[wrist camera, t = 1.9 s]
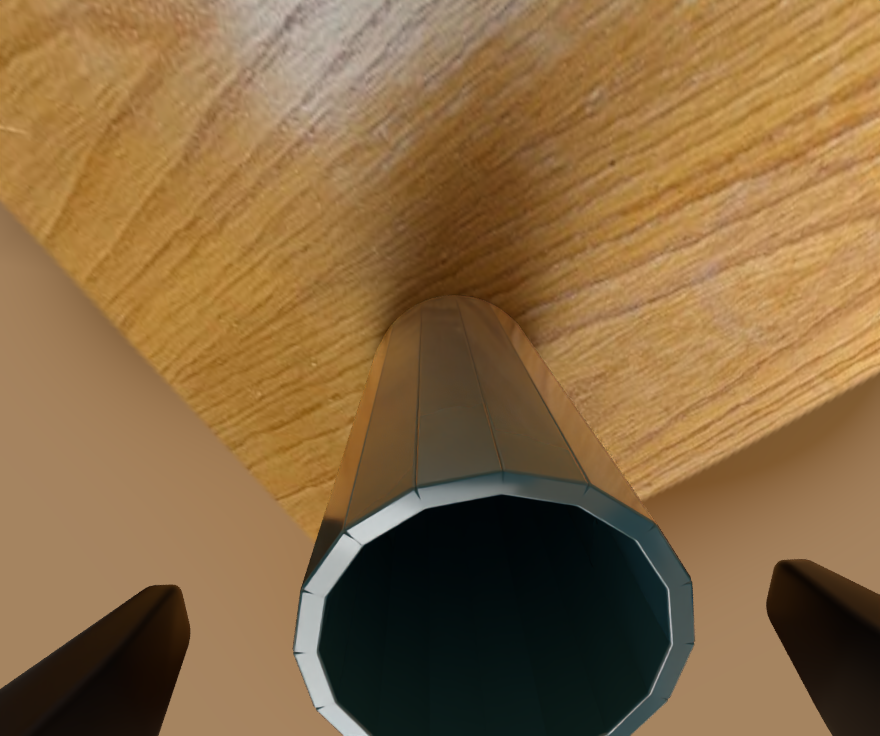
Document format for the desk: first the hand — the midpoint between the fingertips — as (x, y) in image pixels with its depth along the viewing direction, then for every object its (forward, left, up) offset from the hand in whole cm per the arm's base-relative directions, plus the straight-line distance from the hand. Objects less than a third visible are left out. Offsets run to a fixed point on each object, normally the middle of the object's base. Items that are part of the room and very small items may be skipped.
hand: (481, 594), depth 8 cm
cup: (0, 0, -10) cm, 10 cm away
